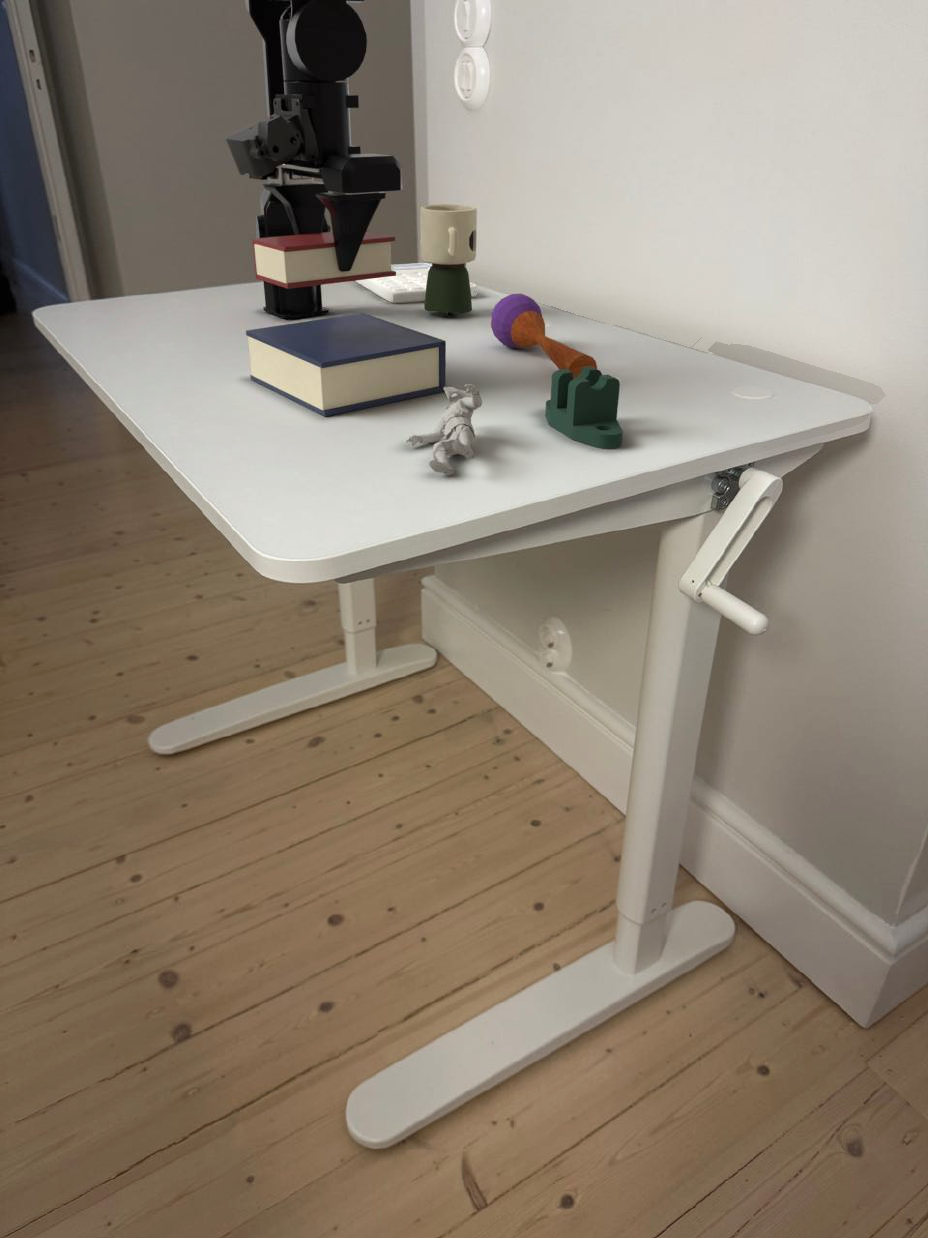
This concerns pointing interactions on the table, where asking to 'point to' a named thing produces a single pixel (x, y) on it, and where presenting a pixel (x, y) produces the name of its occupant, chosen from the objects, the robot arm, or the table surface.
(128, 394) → the table surface
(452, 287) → the character mug
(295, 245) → the small book
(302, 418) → the table surface
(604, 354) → the table surface
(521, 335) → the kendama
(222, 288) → the table surface
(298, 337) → the big book
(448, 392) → the soldier figure
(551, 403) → the mount
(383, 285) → the calculator
